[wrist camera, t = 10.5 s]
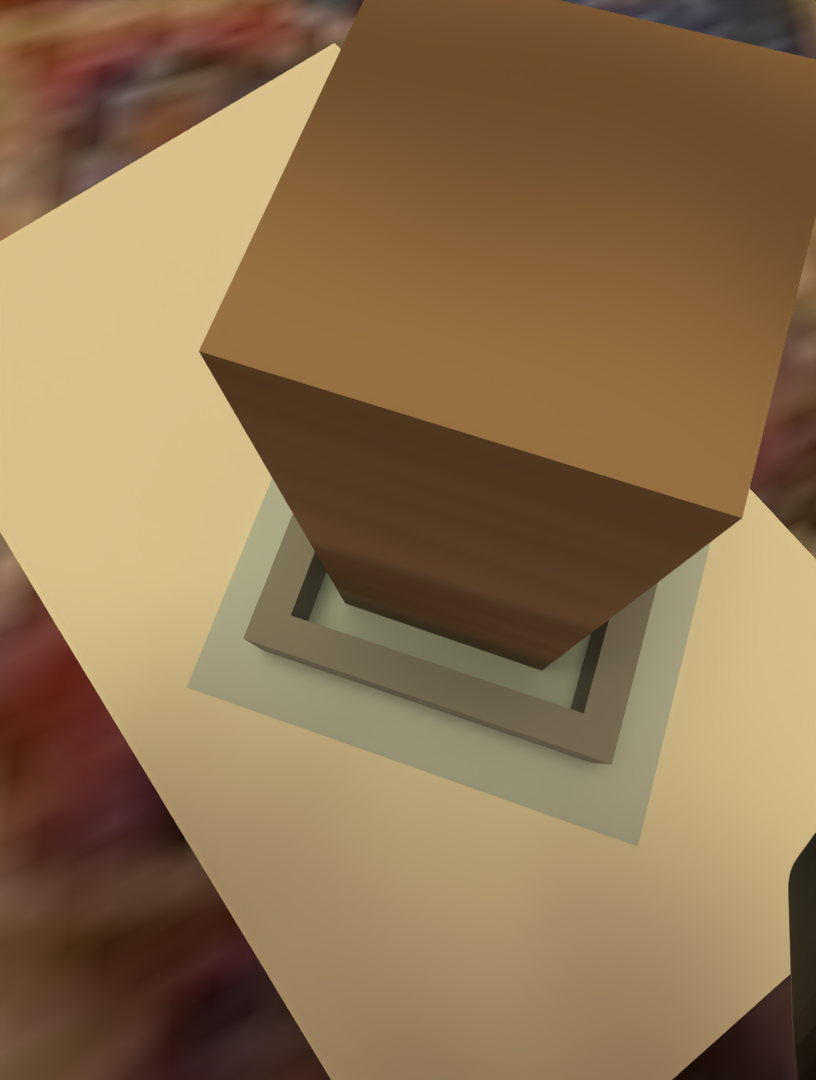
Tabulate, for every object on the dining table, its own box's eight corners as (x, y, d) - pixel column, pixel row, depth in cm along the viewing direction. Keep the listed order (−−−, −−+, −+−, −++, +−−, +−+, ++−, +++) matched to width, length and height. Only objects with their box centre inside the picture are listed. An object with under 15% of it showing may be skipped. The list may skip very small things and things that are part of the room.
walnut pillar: (541, 670, 18) (742, 518, 6) (345, 603, 18) (199, 351, 7) (597, 483, 19) (851, 67, 8) (412, 425, 20) (383, -41, 8)
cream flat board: (449, 1261, 15) (453, 1356, 13) (-117, 327, 22) (-185, 274, 19) (1033, 741, 18) (1127, 739, 15) (366, 39, 24) (358, -40, 22)
